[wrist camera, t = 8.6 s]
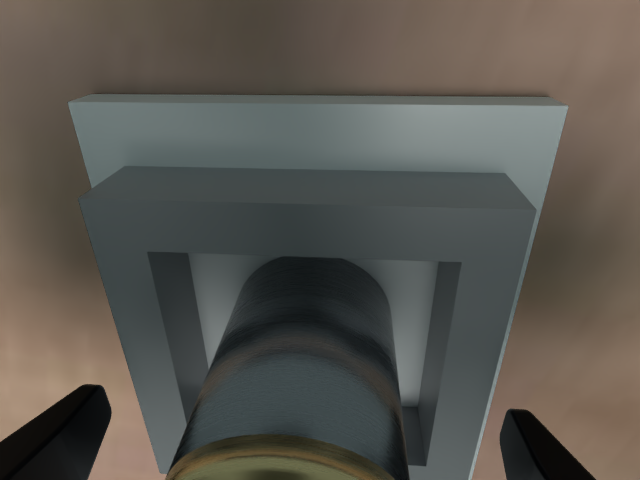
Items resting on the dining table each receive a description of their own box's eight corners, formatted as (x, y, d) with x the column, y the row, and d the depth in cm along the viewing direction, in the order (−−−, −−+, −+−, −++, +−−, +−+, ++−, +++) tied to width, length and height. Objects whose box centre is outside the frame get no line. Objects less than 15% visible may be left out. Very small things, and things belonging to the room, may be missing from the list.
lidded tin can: (397, 254, 11) (433, 482, 6) (386, 378, 13) (405, 627, 8) (228, 250, 11) (119, 461, 6) (244, 371, 14) (173, 606, 8)
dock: (550, 97, 10) (618, 131, 7) (440, 556, 20) (453, 642, 17) (91, 93, 11) (4, 123, 8) (202, 536, 20) (179, 615, 18)
